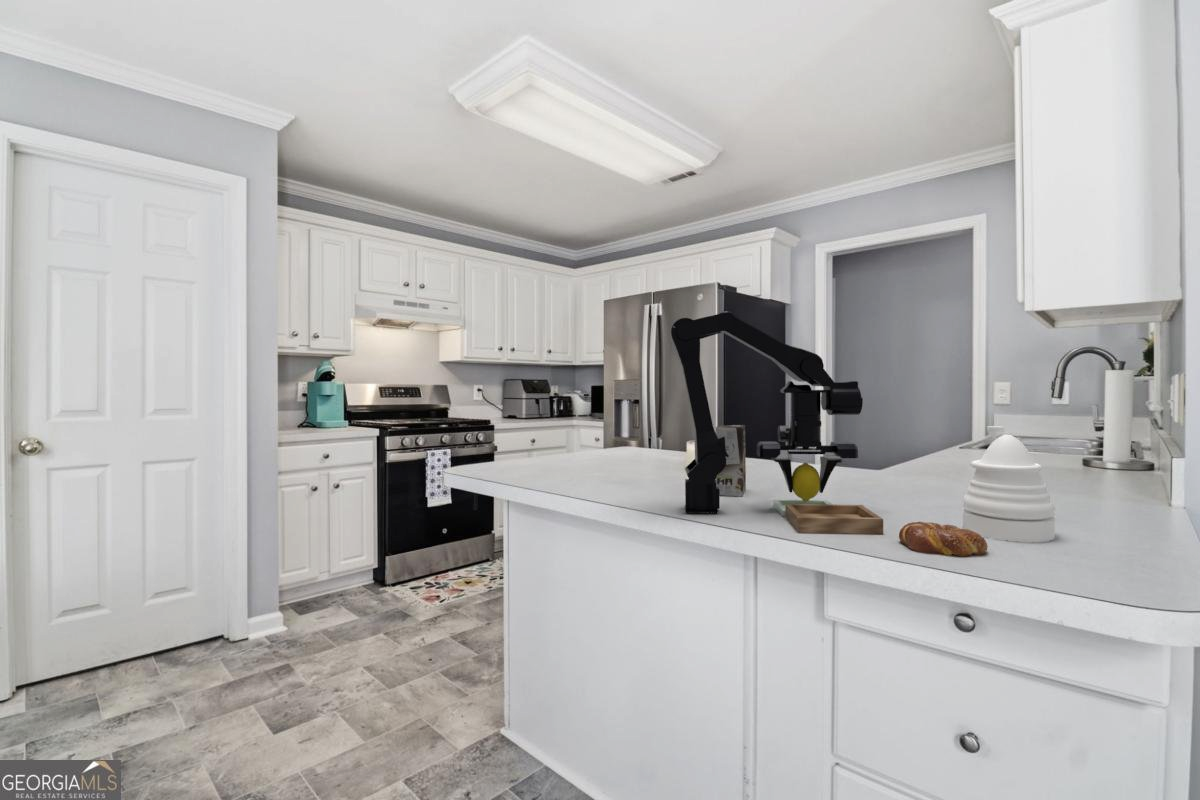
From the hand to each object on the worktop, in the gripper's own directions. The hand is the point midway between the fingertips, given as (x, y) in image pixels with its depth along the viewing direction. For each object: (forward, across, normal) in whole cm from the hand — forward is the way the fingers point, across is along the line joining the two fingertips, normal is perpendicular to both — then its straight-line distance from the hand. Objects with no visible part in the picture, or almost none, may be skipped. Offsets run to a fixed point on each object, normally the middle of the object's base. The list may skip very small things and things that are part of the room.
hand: (805, 492), depth 119 cm
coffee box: (+4, +13, -20) cm, 24 cm away
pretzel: (+4, -15, +25) cm, 30 cm away
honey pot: (+4, -30, +15) cm, 34 cm away
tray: (+4, -2, +12) cm, 13 cm away
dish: (+4, 0, 0) cm, 4 cm away
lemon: (+2, 0, 0) cm, 2 cm away
